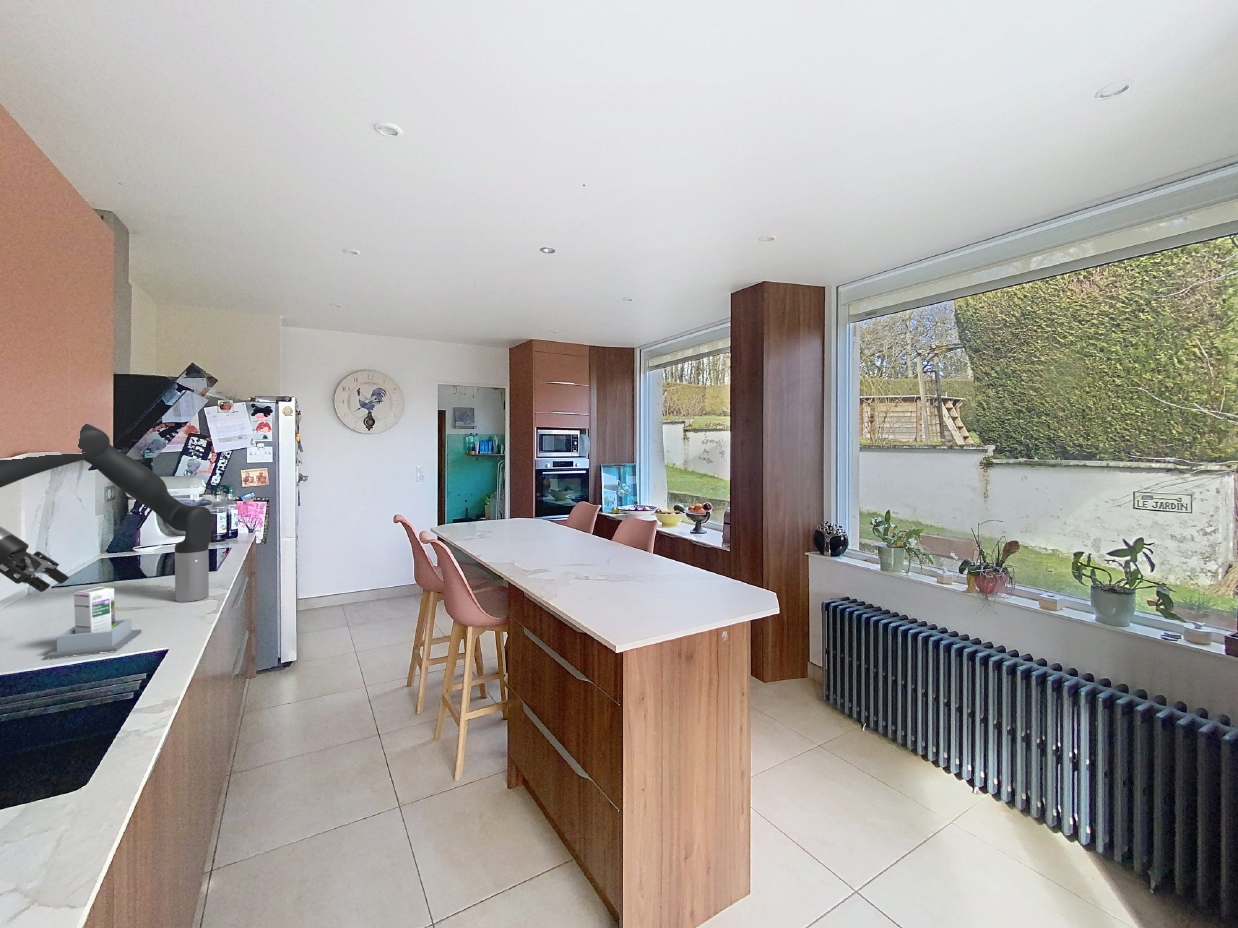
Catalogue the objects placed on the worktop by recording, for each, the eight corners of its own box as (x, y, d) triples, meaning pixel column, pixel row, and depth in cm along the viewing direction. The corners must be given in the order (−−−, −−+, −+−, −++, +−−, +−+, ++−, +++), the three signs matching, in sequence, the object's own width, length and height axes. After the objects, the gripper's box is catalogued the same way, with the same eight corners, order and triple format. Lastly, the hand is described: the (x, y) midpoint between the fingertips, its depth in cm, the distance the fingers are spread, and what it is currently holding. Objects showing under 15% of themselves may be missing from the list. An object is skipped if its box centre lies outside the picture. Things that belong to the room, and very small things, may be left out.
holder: (77, 638, 145) (77, 621, 145) (141, 632, 150) (141, 615, 150) (44, 659, 131) (44, 640, 131) (116, 651, 137) (115, 633, 137)
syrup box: (91, 646, 137) (90, 592, 137) (74, 644, 139) (73, 591, 138) (115, 638, 143) (115, 587, 142) (99, 636, 144) (98, 585, 144)
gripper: (-11, 538, 126) (53, 580, 131) (27, 529, 139) (84, 568, 144) (-41, 561, 124) (25, 603, 129) (-1, 550, 137) (58, 588, 142)
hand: (56, 584), depth 137 cm, fingers open, 8 cm apart
